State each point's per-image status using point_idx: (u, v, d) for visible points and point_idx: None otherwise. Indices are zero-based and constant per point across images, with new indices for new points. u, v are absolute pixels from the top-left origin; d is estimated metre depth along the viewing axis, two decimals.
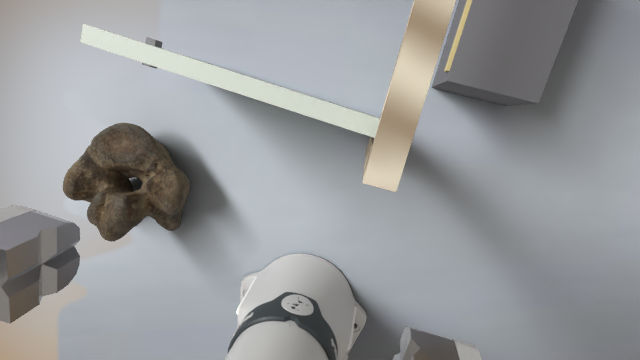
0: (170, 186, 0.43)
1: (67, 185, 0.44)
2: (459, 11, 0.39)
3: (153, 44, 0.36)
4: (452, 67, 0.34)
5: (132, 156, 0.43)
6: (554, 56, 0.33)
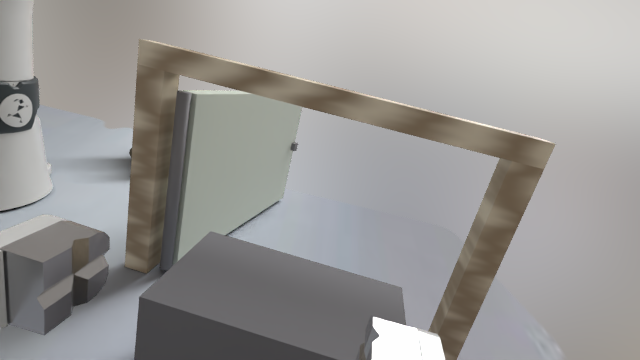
0: None
1: None
2: None
3: (292, 143, 0.56)
4: (224, 236, 0.28)
5: None
6: (213, 317, 0.20)
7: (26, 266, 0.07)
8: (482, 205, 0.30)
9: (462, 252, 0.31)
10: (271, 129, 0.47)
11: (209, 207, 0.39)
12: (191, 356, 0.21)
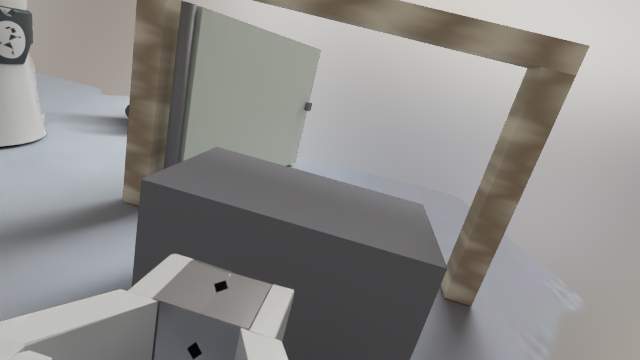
0: None
1: None
2: None
3: (306, 102, 0.54)
4: (232, 151, 0.26)
5: None
6: (223, 201, 0.18)
7: (180, 316, 0.06)
8: (506, 125, 0.28)
9: (483, 179, 0.29)
10: (284, 79, 0.45)
11: (214, 145, 0.37)
12: (198, 250, 0.19)
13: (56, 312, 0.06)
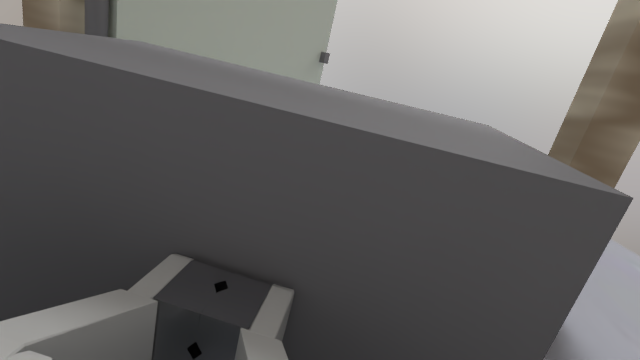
0: None
1: None
2: None
3: (322, 52, 0.42)
4: (165, 47, 0.16)
5: None
6: (62, 54, 0.07)
7: (180, 316, 0.06)
8: (622, 2, 0.17)
9: (577, 100, 0.18)
10: (286, 7, 0.34)
11: None
12: (26, 178, 0.08)
13: (56, 312, 0.06)
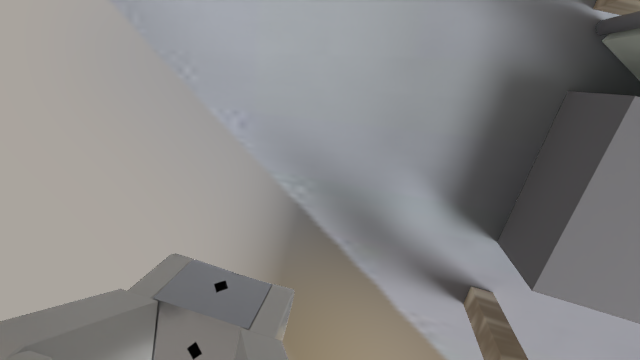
0: None
1: None
2: None
3: None
4: None
5: None
6: (604, 158, 0.25)
7: (180, 316, 0.06)
8: None
9: None
10: None
11: None
12: (584, 139, 0.27)
13: (56, 312, 0.06)
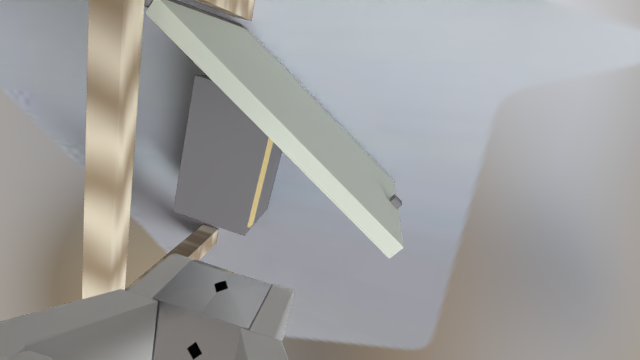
0: None
1: None
2: (274, 161, 0.44)
3: None
4: None
5: None
6: (189, 117, 0.37)
7: (180, 316, 0.06)
8: None
9: None
10: None
11: None
12: None
13: (56, 312, 0.06)
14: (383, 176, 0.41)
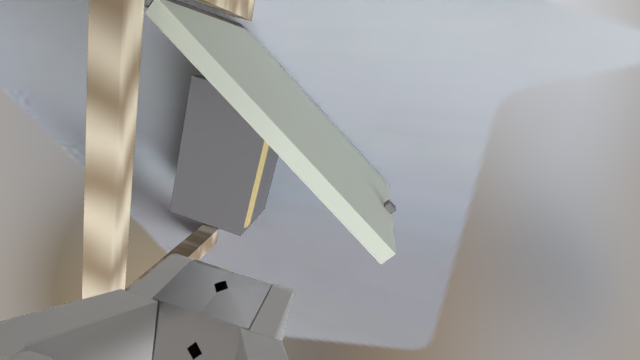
0: None
1: None
2: (271, 162, 0.44)
3: None
4: None
5: None
6: (186, 117, 0.38)
7: (180, 316, 0.06)
8: None
9: None
10: None
11: None
12: None
13: (56, 312, 0.06)
14: (378, 180, 0.41)
